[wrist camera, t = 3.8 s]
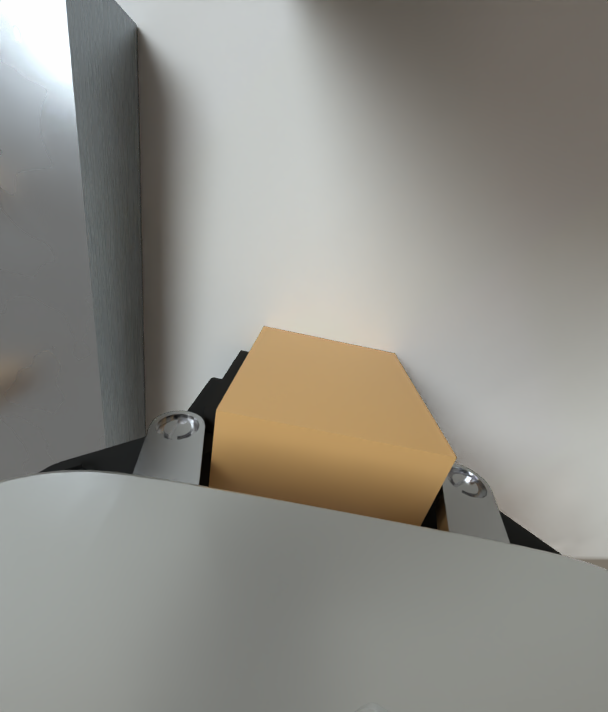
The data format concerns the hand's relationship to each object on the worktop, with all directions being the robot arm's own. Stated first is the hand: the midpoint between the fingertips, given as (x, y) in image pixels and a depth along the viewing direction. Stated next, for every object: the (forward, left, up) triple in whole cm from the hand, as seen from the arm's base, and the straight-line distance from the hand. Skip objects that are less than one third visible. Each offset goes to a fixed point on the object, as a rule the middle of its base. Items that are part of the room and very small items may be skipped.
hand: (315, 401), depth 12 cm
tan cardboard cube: (0, 0, 0) cm, 0 cm away
